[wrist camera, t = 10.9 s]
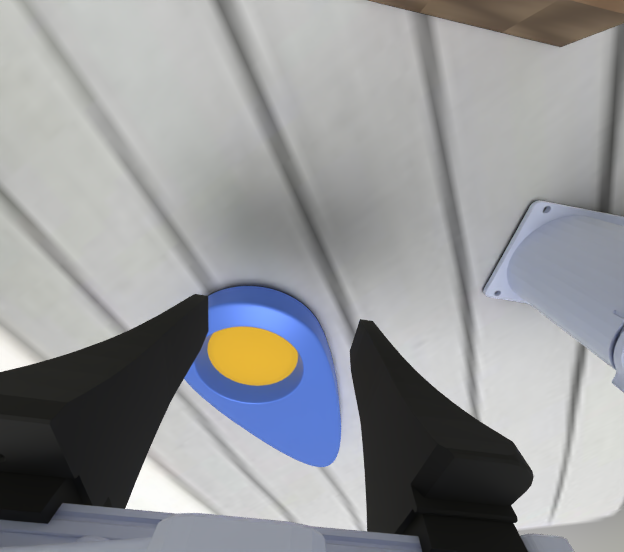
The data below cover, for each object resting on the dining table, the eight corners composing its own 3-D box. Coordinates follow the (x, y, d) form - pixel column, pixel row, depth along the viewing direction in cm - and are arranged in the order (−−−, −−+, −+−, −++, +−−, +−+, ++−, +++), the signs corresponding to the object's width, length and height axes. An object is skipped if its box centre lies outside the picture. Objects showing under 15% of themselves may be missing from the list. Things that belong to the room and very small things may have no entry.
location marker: (374, 429, 32) (290, 261, 21) (380, 460, 29) (286, 282, 18) (278, 451, 35) (158, 310, 24) (274, 481, 32) (136, 336, 21)
